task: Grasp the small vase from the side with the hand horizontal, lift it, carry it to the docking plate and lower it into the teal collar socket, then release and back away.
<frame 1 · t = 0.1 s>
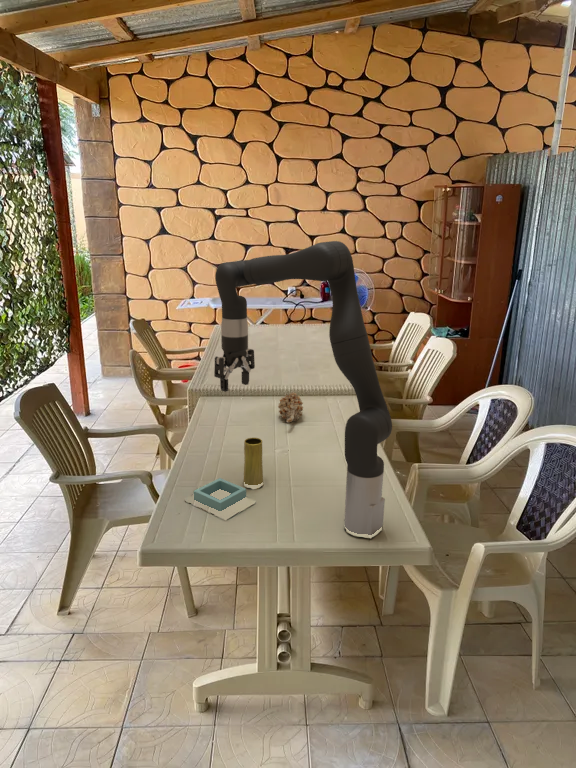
hand: (235, 387, 178), 29 cm above the table, tool pointing down, fingers open, 8 cm apart
vase: (253, 485, 183), on the table
dock: (220, 502, 173), on the table
pine cone: (290, 423, 231), on the table
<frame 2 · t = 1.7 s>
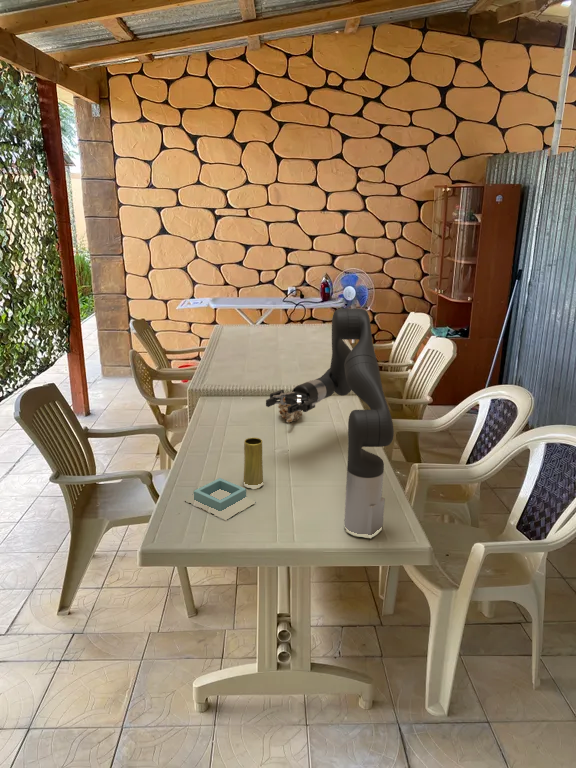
hand: (277, 407, 185), 22 cm above the table, tool horizontal, fingers open, 8 cm apart
nothing on the table moved.
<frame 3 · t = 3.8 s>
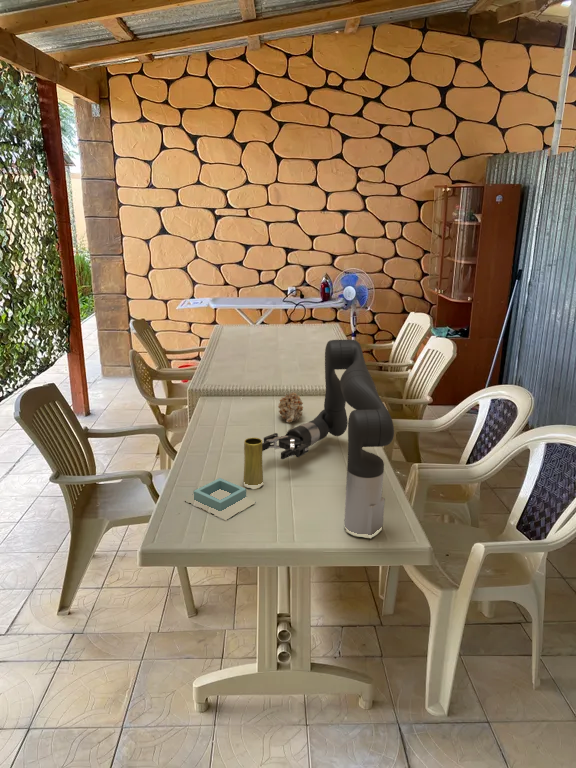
hand: (270, 452, 187), 8 cm above the table, tool horizontal, fingers open, 8 cm apart
nothing on the table moved.
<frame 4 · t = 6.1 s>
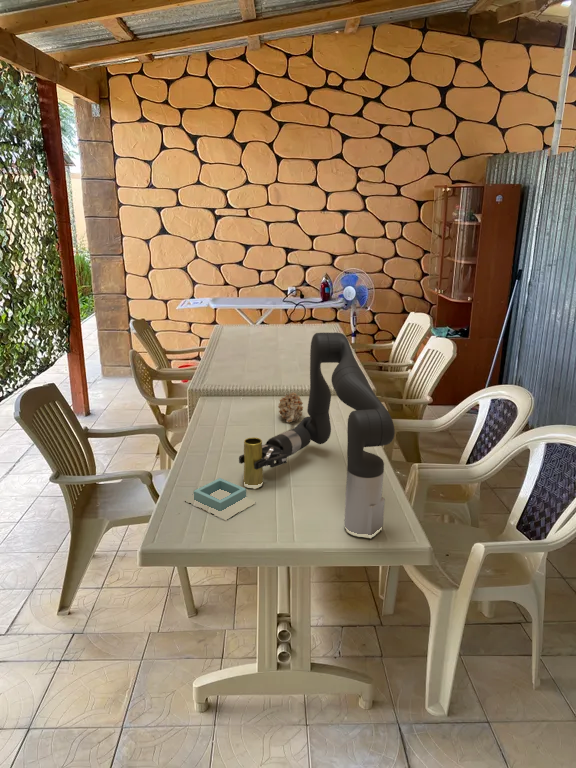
hand: (247, 463, 179), 8 cm above the table, tool horizontal, fingers closed on vase, 5 cm apart
vase: (253, 485, 183), on the table, touching gripper
everything else where it was.
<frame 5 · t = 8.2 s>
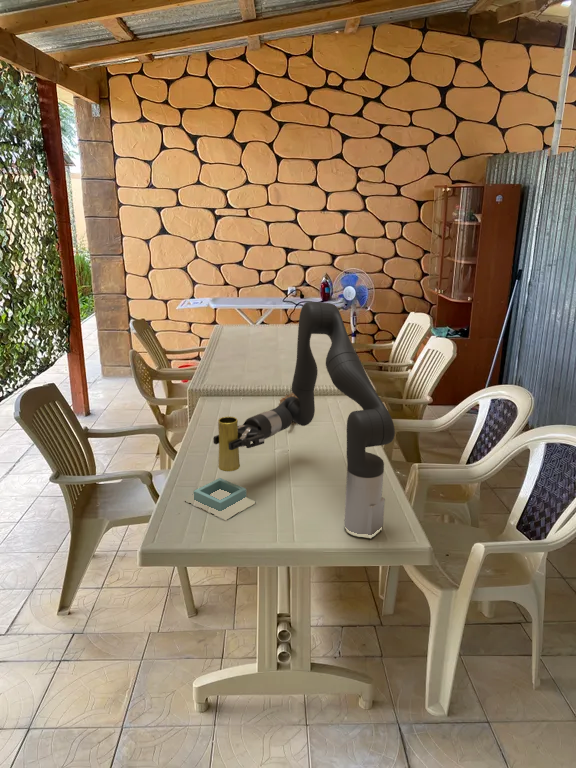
hand: (222, 443, 168), 18 cm above the table, tool horizontal, fingers closed on vase, 5 cm apart
vase: (229, 467, 173), point 9 cm above the table, touching gripper
everything else where it was.
when the fingers open (10 cm above the table, at t = 10.7 s): vase drops 1 cm, resting on dock.
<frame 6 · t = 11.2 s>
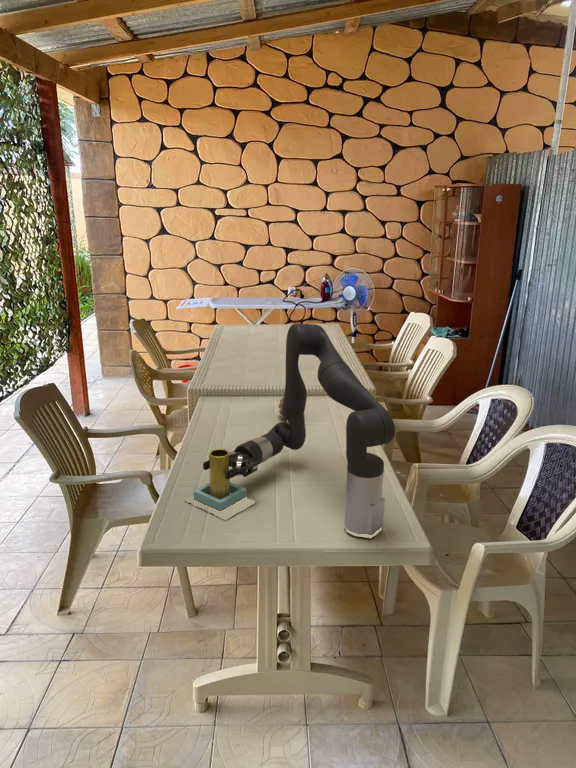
hand: (214, 471, 168), 10 cm above the table, tool horizontal, fingers open, 8 cm apart
vase: (220, 499, 173), point 1 cm above the table, touching dock
everything else where it was.
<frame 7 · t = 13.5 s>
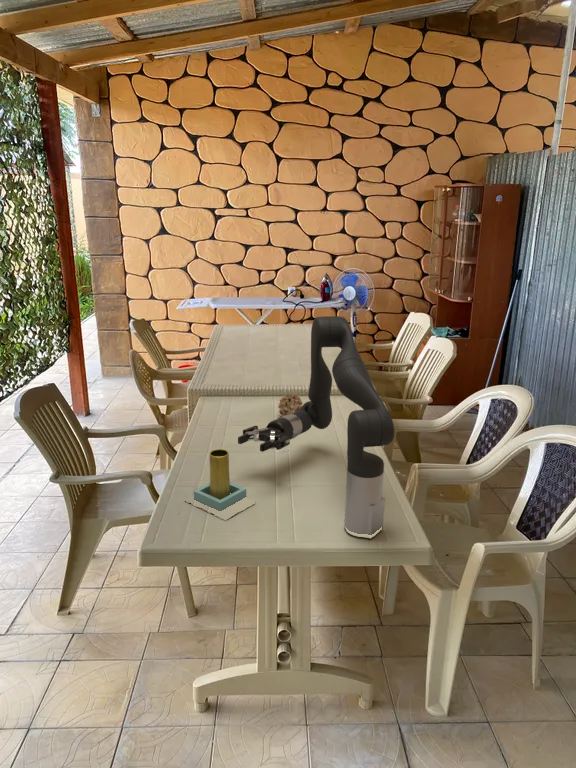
hand: (249, 444, 177), 14 cm above the table, tool horizontal, fingers open, 8 cm apart
nothing on the table moved.
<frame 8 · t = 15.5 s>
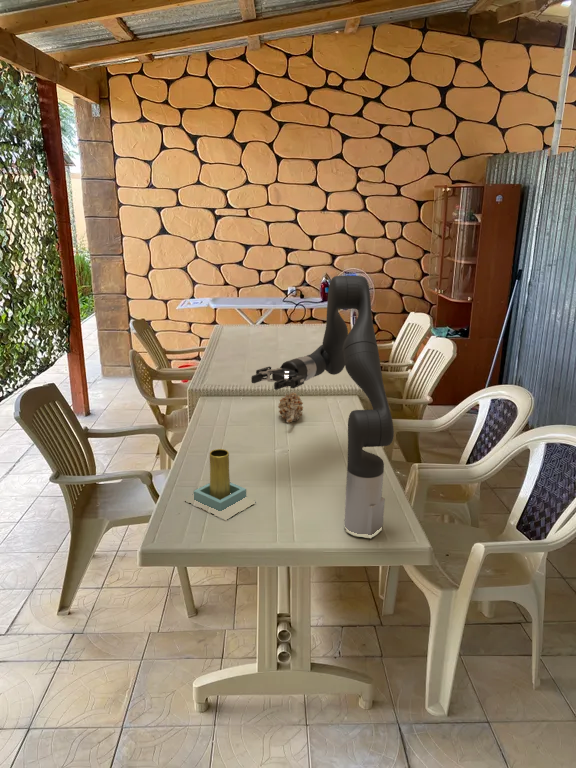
hand: (263, 383, 174), 32 cm above the table, tool horizontal, fingers open, 8 cm apart
nothing on the table moved.
at the end: vase 0.2 cm off-centre on the dock, point 0.8 cm above the dock's base; vase tilted 0°; the gripper is holding nothing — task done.
